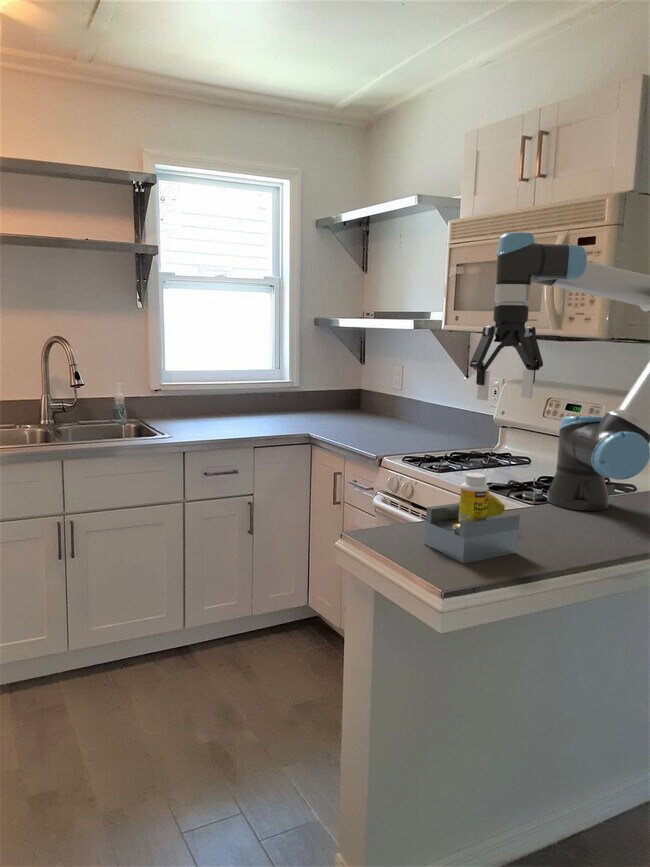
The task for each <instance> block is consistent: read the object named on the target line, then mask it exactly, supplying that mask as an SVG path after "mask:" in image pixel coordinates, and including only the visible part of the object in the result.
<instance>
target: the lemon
mask: <svg viewBox="0 0 650 867" xmlns="http://www.w3.org/2000/svg"><path fill="white" fill-rule="evenodd" d="M458 503H460V501H459V502H458ZM505 509H506V507H505V504H503V503H502V501H500V500H499V499H498V497H497V496H495V495H494V494H491V493H489V494H488V507H487V515H488V517H490V516H497V515H503V514H504V512H505Z"/></svg>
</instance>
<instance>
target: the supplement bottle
mask: <svg viewBox="0 0 650 867" xmlns="http://www.w3.org/2000/svg"><path fill="white" fill-rule="evenodd" d="M486 478H487V477H486V475H485V474H483V473H480V472H468V473H466V474H465V479H464V481H465V482H462V483H461V485H460V493H459V495H460V496H459V497H460V498H459V502H460V507H459V522H460V521H464V520H471V519H477V518H484V517H487V507H488V494H489V492H490V487H489V485H488V484H486V480H487V479H486Z"/></svg>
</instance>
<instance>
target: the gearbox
mask: <svg viewBox="0 0 650 867" xmlns="http://www.w3.org/2000/svg"><path fill="white" fill-rule="evenodd" d="M459 507H460V503H459V502H456V503H450V504H449V503H448V504H442V505H434V506H428V507H426V519H425V534H424V535H425V536H424V545H425V544H426V545H425V546H427V545H428V546H427V547H428V548H430V549H433V548H434V549H433V550H435V549H436V550H435V551H437V550H438V551H437V552H439V551H440V552H439V553H441V552H442V553H441V554H443V555H445V556H447V557H449V558H451V559H453V560H455V561H457V562H459V563H461V564H467V563H468V564H469V563H473V562H478V561H483V560H488V559H489V560H490V559H493V558H499V557H503V556H504V557H505V556H509V555H515V554H517V553H518V544H519V543H518V540H519V528H520V525H519V524H520V515H521V514H518V513H515V512H510V513H505V514H504V513H503V514H502V515H497V516H490V517H488V515H487V517H484V518H477V519H471V520H464V521H460V522H459Z"/></svg>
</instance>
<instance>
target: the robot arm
mask: <svg viewBox="0 0 650 867" xmlns="http://www.w3.org/2000/svg"><path fill="white" fill-rule="evenodd" d="M496 256H497V260H496V276H495V277H496V280H495V291H494V302H495V304H496V303H497V304H496V305H495V306H494V307H493V316H492V317H493V322H495V324H494V325H484V326H483V329H482V335H481V337H480V339H479V342H478V345H477V346H476V348H475V351H474V354H473V356H472V358H471V360H470V362H469V367H471V368H473V370H474V371H476V377H475V378H476V381H475V382H476V385H477V394H476V395H477V396H476V399H477V400H479V401H489V391H490V390H489V388H490V375H491V371H490V370H488V368H489V367H490V365H492V363H493V362H494V360H495V359H496V357H497V356H498V354H499V352H500V351H501V350H502V349H504V348H505V347H513V348H514V349H515V350H516V352H517V354H518V356H519V358H520V359H521V360H522V361H521V362H522V363H523V365H524V366H525V369H524V368H523V370H522V380H521V391H520V392H521V393H520V397H521V398H526V399H533V390H534V389H533V388H534V384H535V381H536V371H539V370H540V369H541V368H542V367H543V366H544V362H543V358H542V355H541V351H540V347H539V345H538V344H539V343H538V341H537V336H536V332H537V331H536V327H535V326H525V324H526V323H528V320H529V312H530V310H529V306H528V305H527V304H530V296H531V284H532V283H535V284H539V285H545V286H550V287H553V288H554V287H555V288H560V289H564V290H568V291H572V292H577V293H582V294H586V295H588V296H589V295H590V296H595V297H599V298H603V299H607V300H613V301H617V302H621V303H625V304H630V305H635V306H639V308H640V310H641V311H642V312H647V313H650V275H649V274H645V273H642V272H641V273H640V272H637V271H631V270H626V269H622V268H619V267H618V268H617V267H614V266H611V265H610V266H609V265H604V264H600V263H596V262H593V261H592V262H591V261H588V256H587V252H586V249H585V248H584V247H583V246H581V245H575V244H571V243H568V244H559V243H558V244H554V243H553V244H552V243H551V244H550V243H548V244H547V243H538V242H535V236H534V234H533V233H531V232H522V231H521V232H519V231H518V232H516V231H515V232H507V233H503V234H502V235H501V236H500V237H499V240H498V246H497V253H496ZM558 431H559V433H558V434H559V435H558V447H557V460H556V470H555V475H554V476H553V478H552V481H551V484H550V486H549V488H548V490H547V493H546V494H547V495H546V501H547V502H548V503H549V504H551V505H554V506H557V507H561V508H564V509H569V510H576V511H584V510H589V511H591V512H592V511H593V512H594V511H597V512H598V511H604V510H607V509H608V508H609V507H610V496H609V495H608V489H607V484H606V480H605V478H607V479H612V480H617V481H623V480H627V479H631V478H634V477H635V476H638V475H639V474H640V473H641V472H642V471H643V470H644V469H645V468H646V466H647V465H648V463H649V460H650V445H649V444H650V359H649V360H648V361H647V363H646V365H645V367H644V368H643V369H642V371H641V373H640V374H639V375H638V377H637V379H636V380H635V381H634V383H633V385H632V386H631V387H630V389H629V391H628V392H627V393H626V395H625V397H624V398H623V400H622V401H621V403H620V404H619V406H618V407H617V408H616V409H613V410H609V411H607V412H606V413H605V415H604V416H598V415H597V416H588V415H587V416H586V415H585V416H584V415H567V416H566V415H565V416H564V417H562V418H561V421H560V426H559V430H558ZM589 511H588V512H589Z"/></svg>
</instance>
